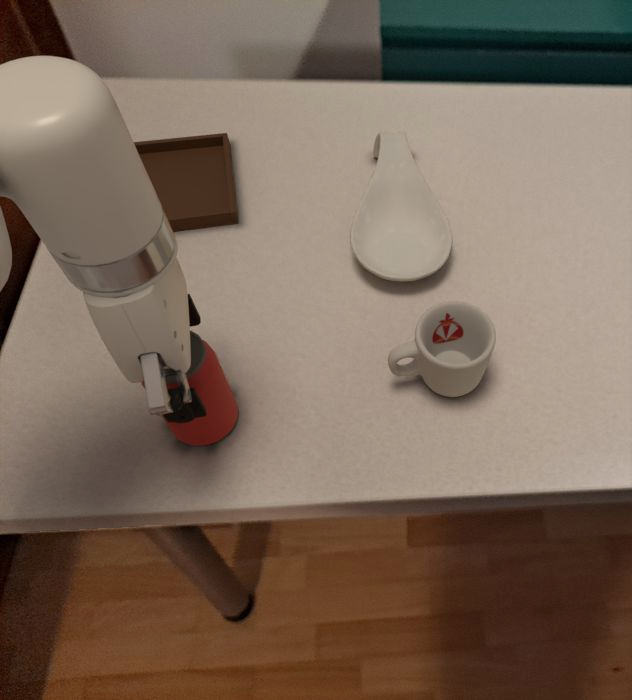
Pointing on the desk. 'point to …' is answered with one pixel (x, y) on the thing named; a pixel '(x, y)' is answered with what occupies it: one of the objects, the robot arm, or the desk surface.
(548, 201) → the desk surface
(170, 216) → the tray
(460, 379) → the cup
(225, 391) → the beer can
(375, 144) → the spoon rest
